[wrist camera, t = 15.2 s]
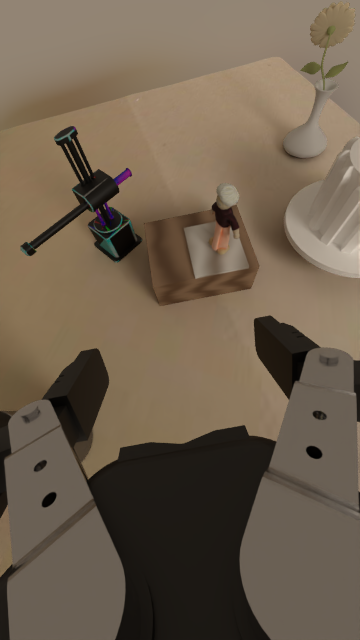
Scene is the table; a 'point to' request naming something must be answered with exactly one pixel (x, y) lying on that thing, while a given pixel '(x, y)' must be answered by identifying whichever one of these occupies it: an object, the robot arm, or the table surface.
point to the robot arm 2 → (93, 206)
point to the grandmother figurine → (224, 218)
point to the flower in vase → (325, 32)
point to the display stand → (197, 258)
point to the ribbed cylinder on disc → (329, 216)
